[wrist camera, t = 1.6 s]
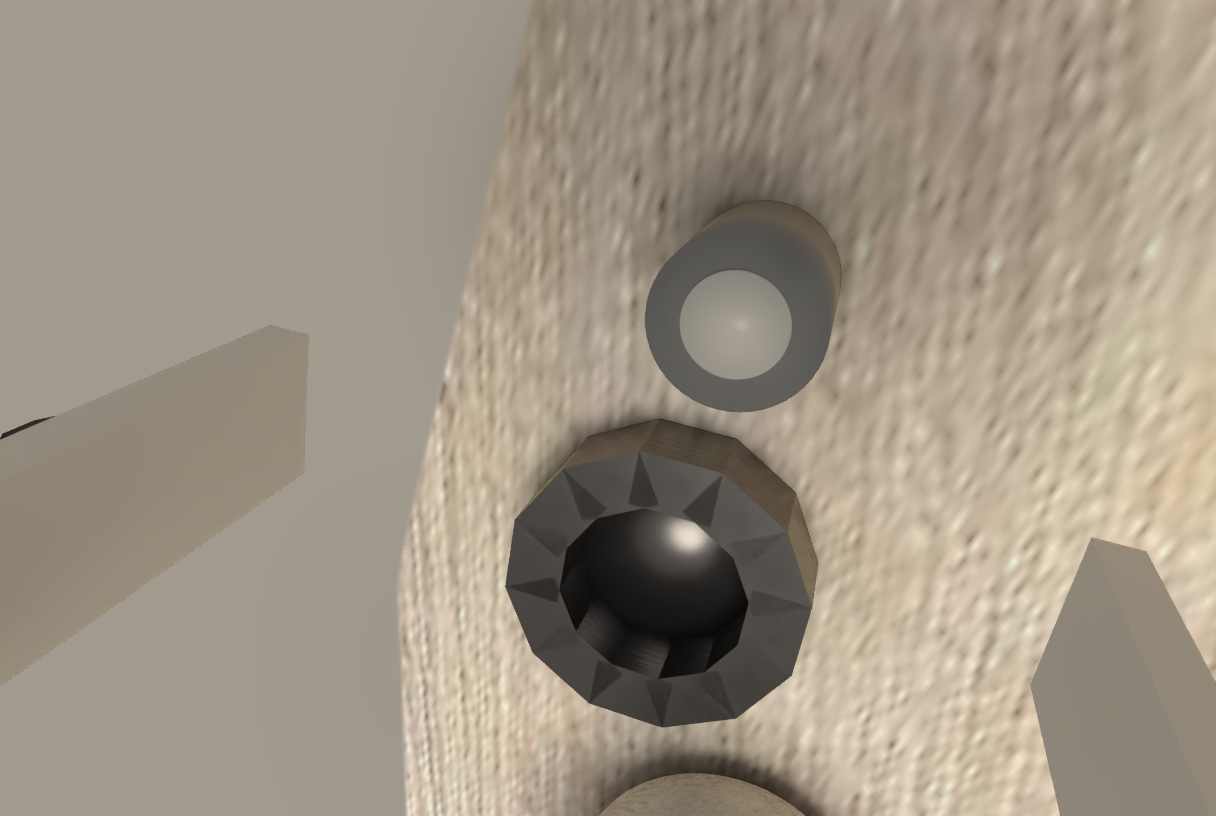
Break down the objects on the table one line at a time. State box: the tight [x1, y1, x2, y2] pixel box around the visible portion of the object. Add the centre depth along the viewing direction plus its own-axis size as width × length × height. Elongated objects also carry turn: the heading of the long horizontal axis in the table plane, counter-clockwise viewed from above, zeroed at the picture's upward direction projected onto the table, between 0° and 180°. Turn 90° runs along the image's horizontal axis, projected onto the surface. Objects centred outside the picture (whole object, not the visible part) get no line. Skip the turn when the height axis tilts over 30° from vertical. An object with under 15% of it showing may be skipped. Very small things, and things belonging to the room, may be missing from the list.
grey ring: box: [505, 419, 818, 727], centre depth 33 cm, size 10×10×3 cm
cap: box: [645, 201, 841, 412], centre depth 28 cm, size 5×5×6 cm
